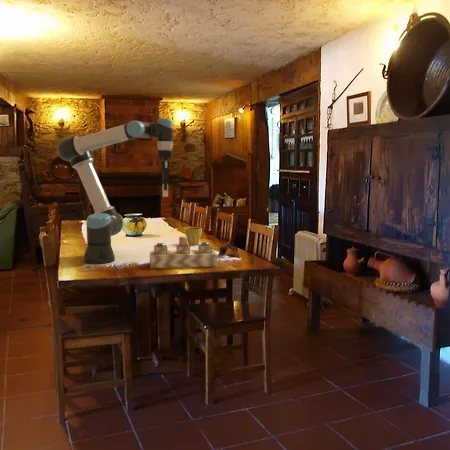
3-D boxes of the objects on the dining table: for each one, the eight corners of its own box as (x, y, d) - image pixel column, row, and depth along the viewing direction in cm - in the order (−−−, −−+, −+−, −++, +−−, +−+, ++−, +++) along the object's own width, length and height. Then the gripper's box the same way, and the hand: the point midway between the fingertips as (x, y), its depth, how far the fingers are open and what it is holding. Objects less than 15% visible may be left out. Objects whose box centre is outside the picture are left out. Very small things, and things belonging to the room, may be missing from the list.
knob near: (156, 253, 241) (156, 244, 240) (156, 251, 245) (156, 243, 244) (165, 253, 242) (165, 244, 241) (164, 251, 246) (164, 243, 245)
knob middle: (179, 246, 243) (179, 237, 242) (178, 245, 246) (178, 236, 246) (187, 246, 243) (187, 237, 243) (186, 245, 247) (186, 236, 247)
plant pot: (182, 245, 296) (182, 229, 295) (187, 242, 306) (187, 226, 305) (199, 246, 294) (199, 229, 292) (204, 243, 304) (204, 227, 302)
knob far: (201, 252, 245) (201, 243, 245) (200, 250, 249) (200, 242, 248) (209, 252, 246) (209, 243, 245) (208, 250, 250) (208, 242, 249)
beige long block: (151, 268, 237) (150, 248, 236) (149, 262, 249) (149, 243, 248) (216, 266, 244) (217, 247, 242) (212, 260, 255) (213, 242, 254)
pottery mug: (222, 253, 276) (230, 241, 275) (234, 263, 272) (242, 250, 271) (211, 251, 266) (219, 238, 265) (224, 261, 262) (232, 248, 260)
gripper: (173, 150, 245) (173, 197, 249) (171, 150, 258) (171, 195, 261) (158, 149, 244) (158, 197, 247) (157, 149, 257) (157, 195, 260)
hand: (165, 196), depth 254 cm, fingers closed
